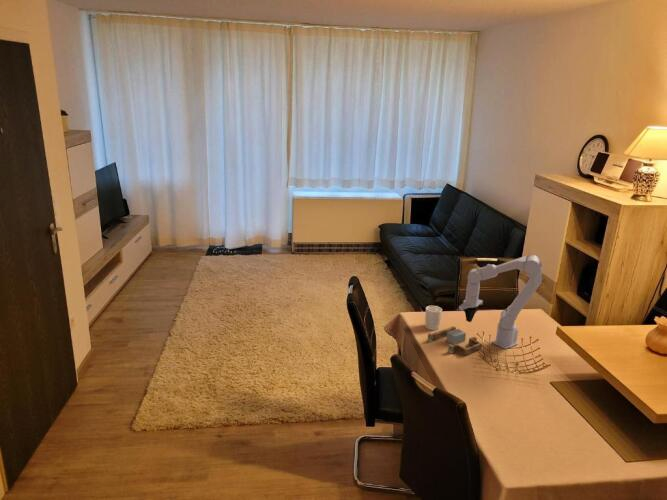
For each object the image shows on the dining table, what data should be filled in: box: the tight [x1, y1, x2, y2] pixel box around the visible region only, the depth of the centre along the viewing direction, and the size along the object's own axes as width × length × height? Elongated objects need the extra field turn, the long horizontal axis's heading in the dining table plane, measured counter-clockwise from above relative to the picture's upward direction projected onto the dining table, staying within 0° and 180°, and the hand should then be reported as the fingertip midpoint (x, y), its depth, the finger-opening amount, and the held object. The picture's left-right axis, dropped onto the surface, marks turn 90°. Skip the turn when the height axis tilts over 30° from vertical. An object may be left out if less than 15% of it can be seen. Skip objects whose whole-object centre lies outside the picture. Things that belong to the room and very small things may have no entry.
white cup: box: [424, 305, 443, 331], centre depth 243 cm, size 8×8×10 cm
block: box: [446, 328, 467, 345], centre depth 231 cm, size 7×5×4 cm
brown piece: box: [427, 326, 483, 357], centre depth 228 cm, size 17×19×4 cm
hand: (468, 321), depth 234 cm, fingers closed
